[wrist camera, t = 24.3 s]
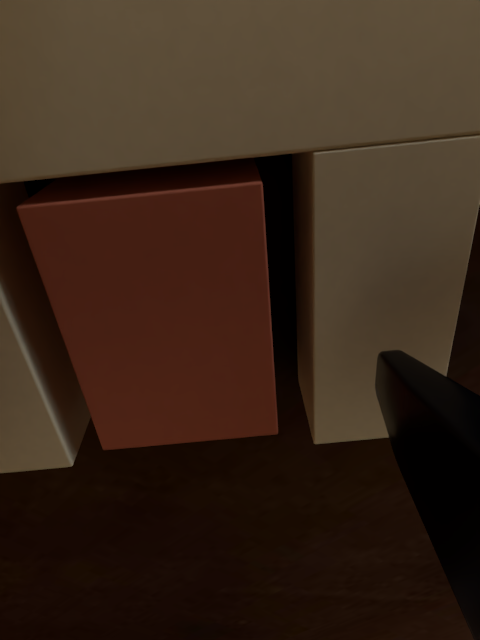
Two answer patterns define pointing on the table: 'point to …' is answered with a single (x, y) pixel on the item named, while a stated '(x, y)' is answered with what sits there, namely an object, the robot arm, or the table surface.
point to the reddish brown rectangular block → (162, 299)
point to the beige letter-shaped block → (248, 142)
